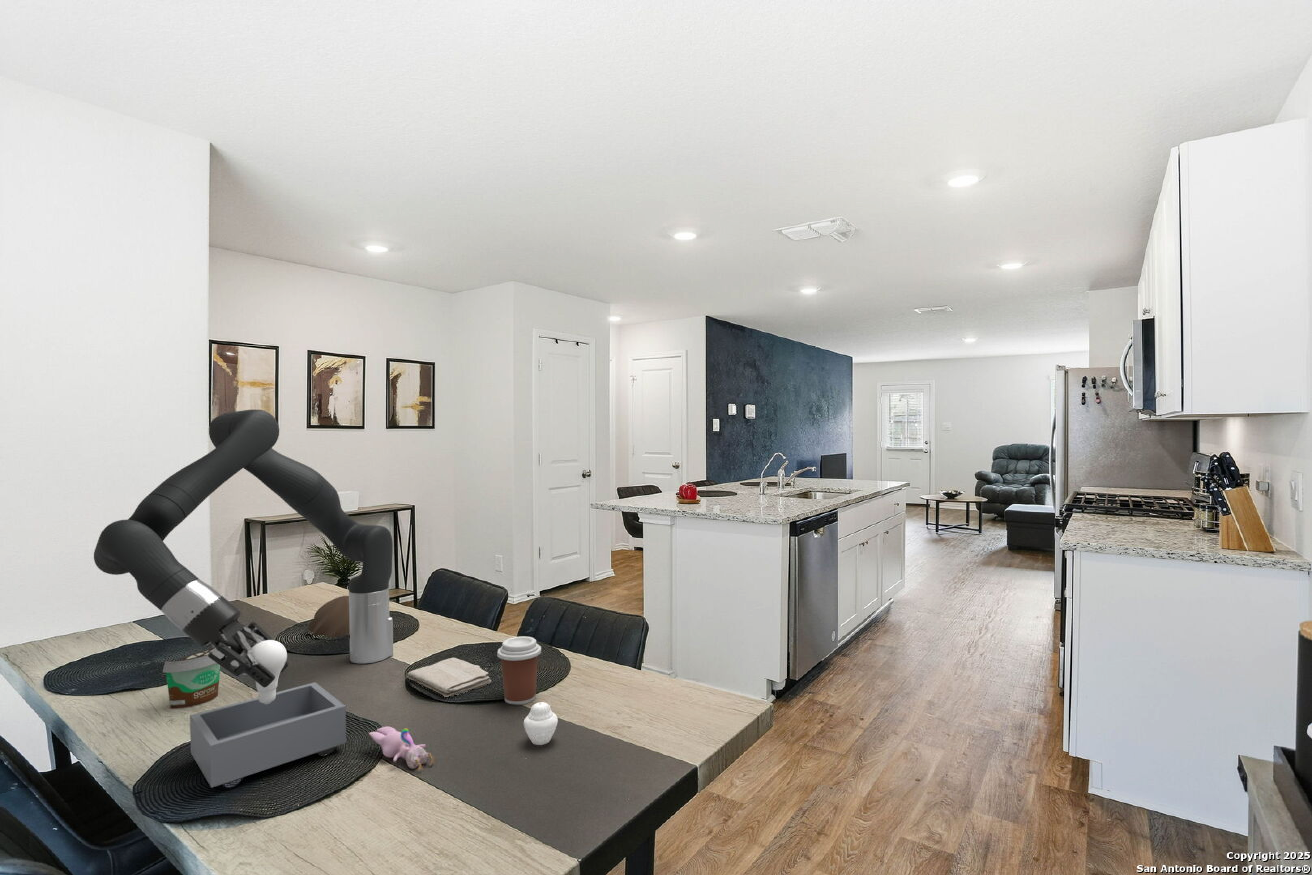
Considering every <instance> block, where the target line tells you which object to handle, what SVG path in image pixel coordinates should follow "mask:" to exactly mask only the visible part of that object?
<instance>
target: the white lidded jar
mask: <svg viewBox="0 0 1312 875" xmlns="http://www.w3.org/2000/svg"><path fill="white" fill-rule="evenodd" d="M558 723H559V720H558V716H557V715H556V713H555V712H553V710H551V705H550V704H549V703H547V702H544V701H543V702H542V701H541V702H536V703H535V704H533V705H532V706H531V707H530V711H529V712H528V715H526V717H525V718H524V720H523V727H524V731H525V733H526V735H527V736H528V738H529V739H530V741H531V743H532V744H533V745H535V746H543V745H546V744H548V743H550V742H551V739H552V738H553V735H554V734H555V731H556V729H557V725H558Z"/></svg>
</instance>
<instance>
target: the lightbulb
mask: <svg viewBox="0 0 1312 875" xmlns="http://www.w3.org/2000/svg"><path fill="white" fill-rule="evenodd" d="M252 649H253V653H252V655H253V656H254V658H255V659H256V660H257V662H258V664H259V663H260V664H261V665H262V666H263V667H265V668H266V669H267V670H268V671H270V672H271V673H272V674H273V675H274V676H275V679H274V680H273V681H272V682H271V683H270V684H269V685H268V686H267V687H262V686H261V685H260V684H259V683H258V682H256V681H255V680H254V681H255V686H256V691H257V694H258V697H259V702H261V703H264V704H269V703H271V701H273V700H274V699H275V698H276V692H277V687H278V684H279V683H278V682H279V676H280V674H281V673H280V672H281V670H282V668H283V667H284V664H285V662H286V661H287V659H288V653H287V649H286V647H285V646H284V645H283V644H282V643H281V642H279V641H277V640H274V639H273V640H266V641H265V640H264V641H262V642H260V643H258V644H256V645H255V646H253V648H252ZM246 660H247V659H246ZM247 661H248V660H247ZM258 664H257V665H258Z"/></svg>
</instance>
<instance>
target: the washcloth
mask: <svg viewBox="0 0 1312 875" xmlns="http://www.w3.org/2000/svg"><path fill="white" fill-rule="evenodd" d="M488 675H489V672H488V671H486V670H484V669H482V668H481V667H480V666H479V665H475V664H472V663H470V662H468V661H466V660H463V659H459V658H456V657H451V658H447V659H442V660H440V661H438V662H436V663H434V664H431V665H426V666H422V667H420V668H416V669H413V670H411V671H409V672H407V675H406V679H407V678H409V679H411V680H415V681H417V682H418V683H420V684H423V685H425V686H426V687H428V688H430V689H433V690H434V691H436V692H438V693H440V694H442V695H443V696H444V697H443V696H442V697H443V698H445V697H449V696H450V697H455V696H454V695H457V696H460V695H461V694H460V693H463V694H466V693H468V691H469V692H471V691H473V690H472V689H474V690H477V689H480V688H482V687H485V686H488V685H489V684H491V683H492V680H491V677H489V676H488ZM487 684H488V685H487ZM470 690H471V691H470ZM434 691H433V692H434ZM436 692H435V693H436ZM465 692H466V693H465ZM459 694H460V695H459ZM450 697H449V698H450Z"/></svg>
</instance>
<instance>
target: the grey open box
mask: <svg viewBox="0 0 1312 875" xmlns="http://www.w3.org/2000/svg"><path fill="white" fill-rule="evenodd" d="M346 707H347V706H346V705H345V704H344V703H342V701H340V700H339V699H338V698H336V697H335V696H333V695H332V694H331V692H330V693H329V691H327V690H326V689H324V688H323V687H322V686H321V685H319V684H318V683H317V682H315V681H314V682H312V683H311V682H310V683H307V684H304V685H299V686H296V687H292V688H287V689H284V690H280V691H276V698H275V699H274V700H273V701H271V703H269V704H264V703H261V702H259V697H254V698H250V699H246V700H243V701H237V702H235V703H231V704H227V705H223V706H220V707H219V706H218V707H216V708H212V709H208V710H205V711H201V712H197V713H192V714H189V729H190V731H189V732H190V734H189V735H190V754H191V756H192V757H193V759H194V760H195V762H196V764H197V765H198V767H199V769H200V771H201V772H202V774H203V776H204V778H205V779H206V781H207V782H208V784H209V786H210V788H211V789H212V788H214V787H219V786H221V785H222V786H223V785H225V784H227V783H231V782H233V781H236V780H238V779H242V780H243V779H244V778H245V777H247V776H251V775H254V774H256V773H259V772H262V771H265V770H268V769H272V768H274V767H279V766H280V765H283V764H286V763H289V762H292V761H296V760H298V759H299V760H300V759H302V758H304V757H308V756H311V755H313V754H317V755H319V756H321V757H323V756H322V755H325V754H328V753H331V754H333V752H334V750H335V749H336V747H338V746H340V745H343V744H346V743H347V719H346V718H347V716H346V715H347V714H346Z"/></svg>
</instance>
